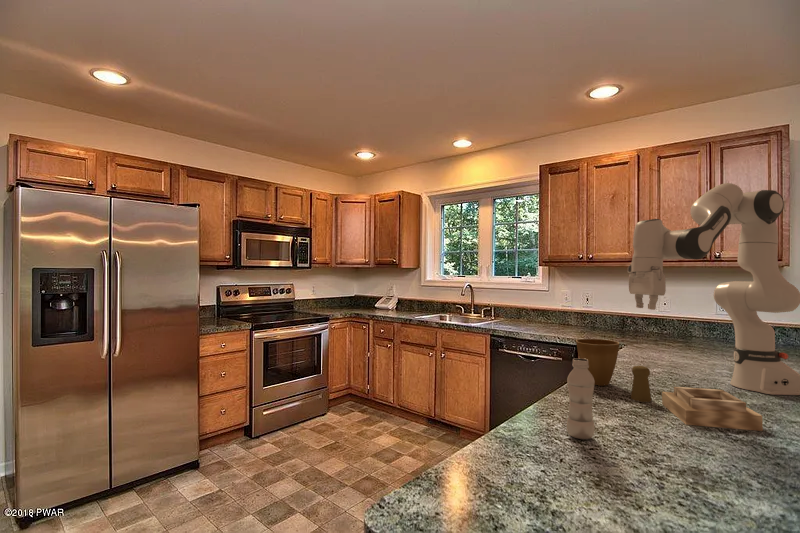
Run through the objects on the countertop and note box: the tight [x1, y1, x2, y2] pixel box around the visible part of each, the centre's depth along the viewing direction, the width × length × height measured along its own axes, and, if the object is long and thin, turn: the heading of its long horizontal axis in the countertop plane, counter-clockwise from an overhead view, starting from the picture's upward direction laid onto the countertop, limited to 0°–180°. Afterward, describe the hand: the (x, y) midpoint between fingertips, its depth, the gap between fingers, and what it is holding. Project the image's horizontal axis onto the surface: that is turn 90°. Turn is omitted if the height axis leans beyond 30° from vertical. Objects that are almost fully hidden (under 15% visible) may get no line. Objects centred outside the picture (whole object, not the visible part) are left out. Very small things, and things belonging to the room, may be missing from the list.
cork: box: [630, 365, 652, 403], centre depth 137 cm, size 6×6×11 cm
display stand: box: [661, 386, 764, 432], centre depth 121 cm, size 18×18×6 cm
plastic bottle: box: [566, 357, 596, 440], centre depth 106 cm, size 6×7×20 cm
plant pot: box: [575, 338, 620, 387], centre depth 156 cm, size 15×15×16 cm
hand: (645, 308), depth 136 cm, fingers open, 8 cm apart
